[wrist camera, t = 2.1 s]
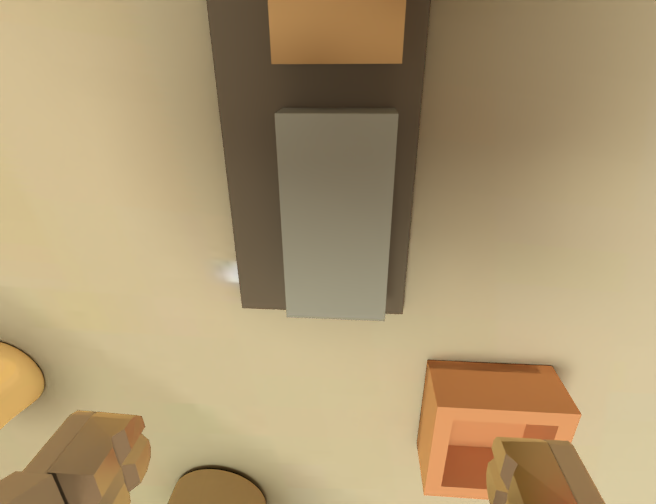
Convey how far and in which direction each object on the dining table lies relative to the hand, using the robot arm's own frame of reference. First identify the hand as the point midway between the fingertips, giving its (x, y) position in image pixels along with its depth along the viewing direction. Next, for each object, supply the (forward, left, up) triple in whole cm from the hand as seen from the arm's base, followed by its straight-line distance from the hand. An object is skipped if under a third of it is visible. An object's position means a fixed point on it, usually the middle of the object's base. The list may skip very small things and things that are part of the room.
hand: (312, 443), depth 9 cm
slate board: (0, 0, -15) cm, 15 cm away
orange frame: (+14, +10, -15) cm, 23 cm away
